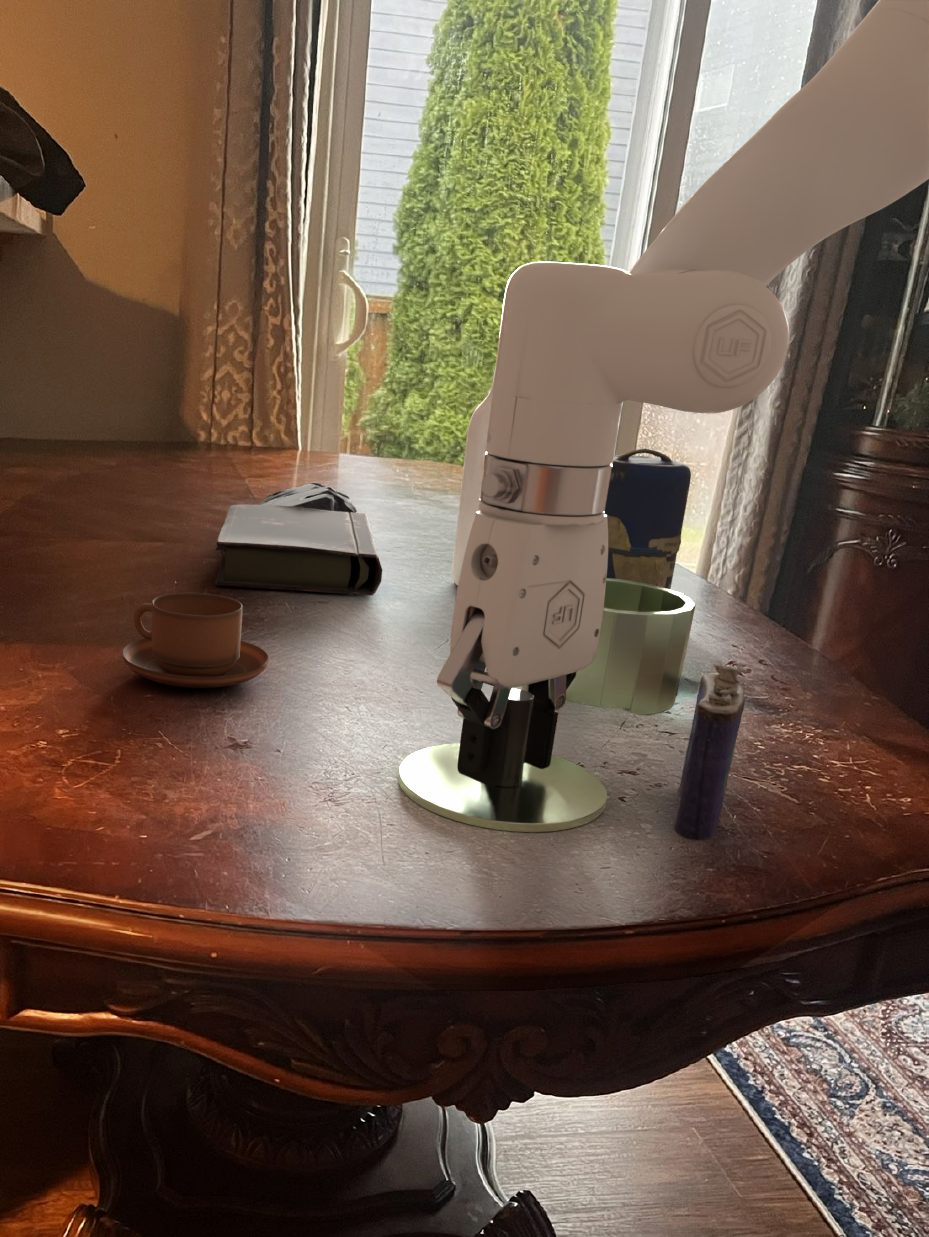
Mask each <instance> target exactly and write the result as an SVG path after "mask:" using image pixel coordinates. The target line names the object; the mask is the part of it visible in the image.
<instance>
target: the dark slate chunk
mask: <svg viewBox="0 0 929 1237" xmlns="http://www.w3.org/2000/svg"><path fill="white" fill-rule="evenodd" d="M260 503H261V504H260V505H278V506H292V507H303V508H311V509H319V510H327V511H339V512H348V513H351V512H353V513H358V510H357V508H356V506H355V505H354V503H353V501H351V498H350V495H349V494H348V492H346V491H344V490H341V489H338V488H337V489H336V488H333V487H332V485H328V486H326V485H324V484H322V483H320V482H310V483H306V484H302V485H298V486H295V487H291V488H288V489H283V490H279V491H276V492H273V493H271V494H268V495H267V496H266V497H264V498H263V500H262V501H261V502H260Z"/></svg>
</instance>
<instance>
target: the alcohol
mask: <svg viewBox="0 0 929 1237" xmlns="http://www.w3.org/2000/svg"><path fill="white" fill-rule="evenodd" d="M495 370H496V366H495V368H494V371H495ZM494 378H495V372H494V373H493V378H492V384H491V387H490V389H489V390H488V391H489V392H488V394H487V396H486V397H485V398H484V399H483V400H482V401H481V402H480V404H478V406H476V408H475V409H474V411H473V412H472V415H471V417H470V420H469V423H468V426H467V432H466V441H465V449H464V450H465V451H464V458H463V468H462V475H461V484H460V493H459V501H458V509H457V510H458V512H457V518H456V519H457V520H456V528H455V538H454V547H453V555H452V562H451V572H450V575H451V578H452V579H453V582H454V584H455V585H456V586H457V587H458V583H459V578H460V574H461V569H462V564H463V560H464V555H465V551H466V547H467V543H468V539H469V536H470V532H471V528H472V525H473V522H474V518H475V515H476V512H477V511H480V510H479V500H480V492H481V482H482V475H483V467H484V459H485V453H486V442H487V434H488V426H489V418H490V410H491V402H492V394H493V386H494Z"/></svg>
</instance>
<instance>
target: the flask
mask: <svg viewBox="0 0 929 1237" xmlns="http://www.w3.org/2000/svg"><path fill="white" fill-rule="evenodd" d="M712 668H715V671H716V672H704V673H703V674H702V676H701V677H700V681H699V683H698V690H697V691H698V692H697V695H696V696H697V697H696V702H695V707H694V713H693V718H692V722H691V729H690V732H689V739H688V744H687V748H686V751H685V756H684V762H683V767H682V771H681V777H680V782H679V786H678V788H677V796H678V797H679V804H678V808H677V812H676V818H675V822H674V831H675V833H676V834H678V835H679V836H681V837H682V838H685V839H687V840H689V841H690V840H691V841H698V842H699V841H700V842H703V841H709V840H711V839H713V838H714V836H715V835H716V832H717V830H718V828H719V824H720V817H721V814H722V809H723V804H724V798H725V794H726V789H727V786H728V779H729V775H730V771H731V766H732V761H733V758H734V752H735V749H736V748H735V747H736V744H737V739H738V736H739V735H738V734H739V733H738V732H739V729H740V725H741V722H742V716H743V712H744V709H745V701H746V698H745V693H744V690H743V688H742V686H741V684H740V681H739V680H738V679H737V677H738V676H739V674H740V673H743V674H745V675H746V674H748V668H745V667H743V666H737V667H736V666H732V665H731V664H725V665H723V664H722V663H720V662H717V663H713V667H712Z"/></svg>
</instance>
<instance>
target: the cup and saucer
mask: <svg viewBox="0 0 929 1237" xmlns="http://www.w3.org/2000/svg"><path fill="white" fill-rule="evenodd" d="M146 612H150V613H151V631H149V630H147V629H145V627H144V625H143V623H142V617H143V614H144V613H146ZM133 623H134V628H135V630H136V631H137V633H138V634H139V635H140V636H141V637H142V638H140V639H137V640H134V641H132V642H130V643H129V644H126V646H124V648H123V649H122V660H123V661H124V663H125V665H126V666H127V667H128V668H129V669H130V670H131V671H132V672H134V673H135V674H136V675H138V676H140V677H142V678H144V679H147V680H149V681H152V682H155V683H159V684H163V685H166V686H173V687H179V688H190V689H213V688H224V687H229V686H235V685H239V684H242V683H246V682H248V681H250V680H252V679H254V678H257V676H259V675H260V674H261V673H262V672H264V670H266V668H267V667H268V664H269V658H270V657H269V655H268V653H267V652H266V651H265V650H264V649H263V648H261V647H259V646H258V645H255V644H253V643H250V642H248V641H244V640H241V639H242V623H243V604H242V603H241V602H240V601H239V600H237V599H235V598H232V597H229V596H225V595H220V594H214V593H207V592H206V593H205V592H176V593H175V592H174V593H167V594H163V595H159V596H157V597H155V598H153V599H152V600H151V603H143V604H140V605H138V607H137V608H136V609H135V612H134V615H133Z"/></svg>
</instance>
